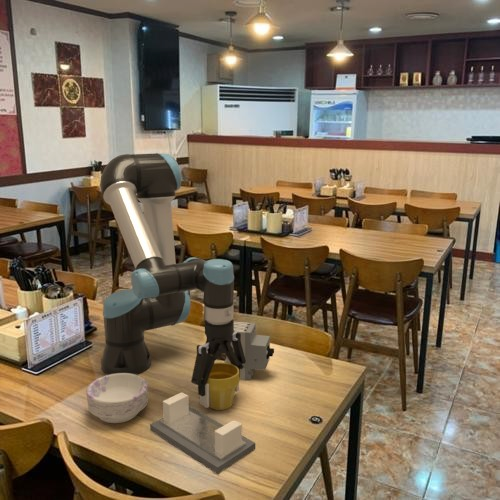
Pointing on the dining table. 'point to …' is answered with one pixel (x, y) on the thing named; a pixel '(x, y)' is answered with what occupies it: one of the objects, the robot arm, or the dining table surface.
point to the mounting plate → (198, 452)
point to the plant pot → (222, 385)
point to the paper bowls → (117, 397)
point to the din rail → (198, 433)
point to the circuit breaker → (252, 349)
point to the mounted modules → (224, 436)
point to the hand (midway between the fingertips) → (219, 397)
